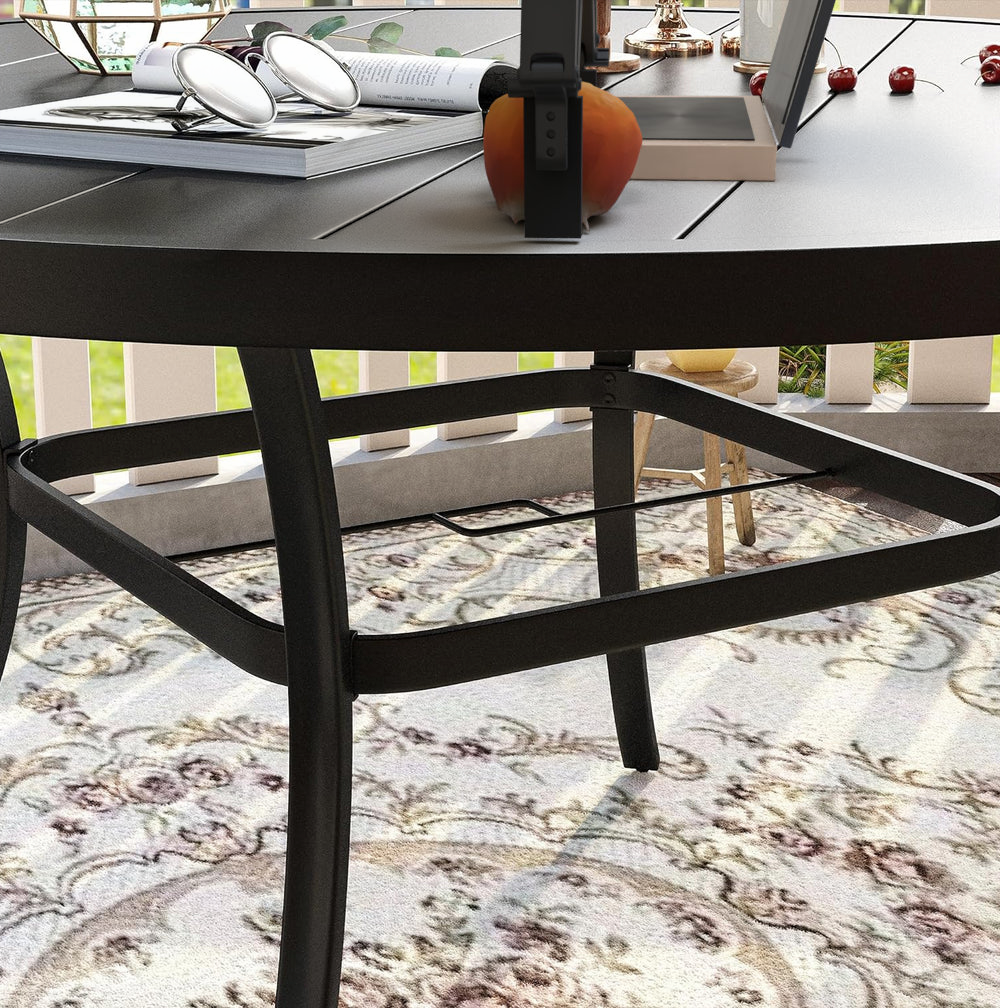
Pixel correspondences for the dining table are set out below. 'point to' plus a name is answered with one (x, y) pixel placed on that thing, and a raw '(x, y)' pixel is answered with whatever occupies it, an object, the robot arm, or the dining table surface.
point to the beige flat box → (703, 138)
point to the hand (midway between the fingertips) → (562, 213)
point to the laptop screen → (794, 64)
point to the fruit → (605, 152)
